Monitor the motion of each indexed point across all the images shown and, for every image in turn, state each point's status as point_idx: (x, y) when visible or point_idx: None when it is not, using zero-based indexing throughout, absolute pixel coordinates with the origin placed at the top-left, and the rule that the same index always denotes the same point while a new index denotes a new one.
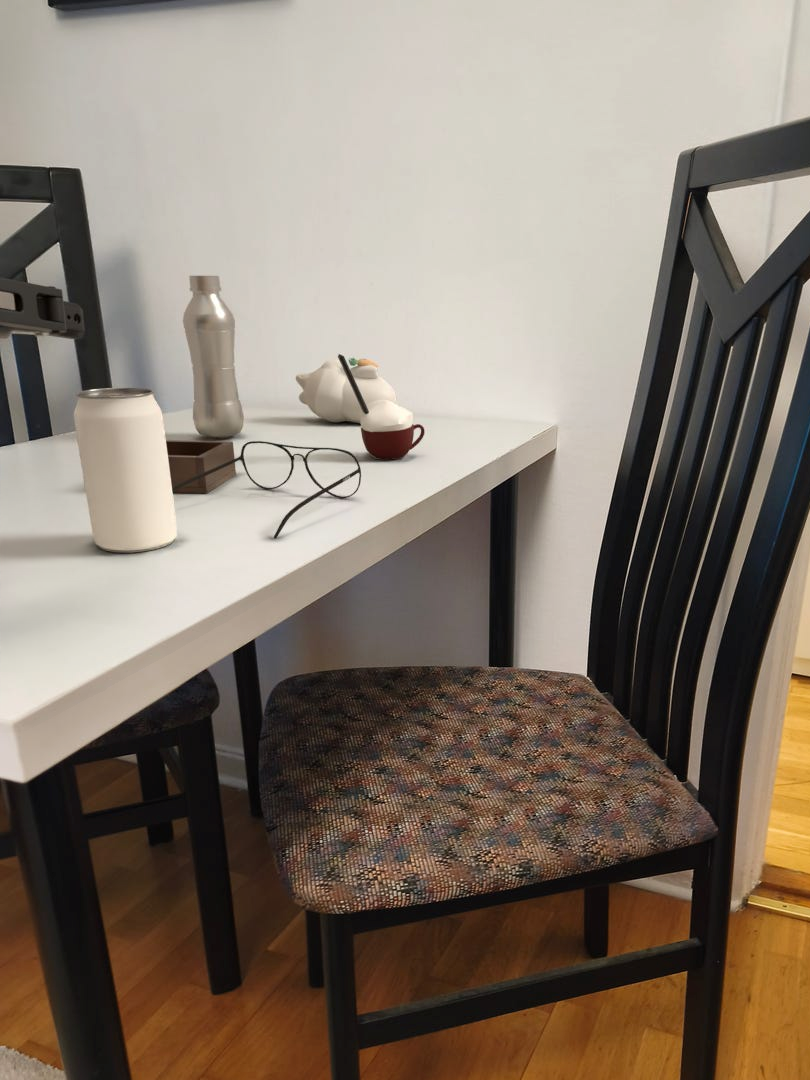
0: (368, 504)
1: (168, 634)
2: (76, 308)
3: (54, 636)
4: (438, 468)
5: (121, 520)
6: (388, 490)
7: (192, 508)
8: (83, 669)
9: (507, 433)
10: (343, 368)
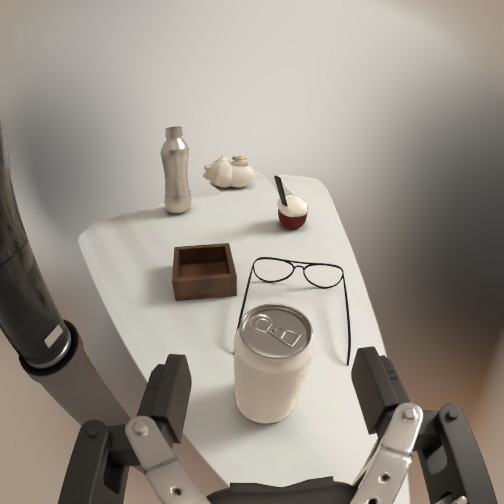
0: None
1: None
2: (393, 367)
3: None
4: (329, 236)
5: (279, 413)
6: (335, 271)
7: None
8: None
9: (315, 192)
10: (276, 183)
